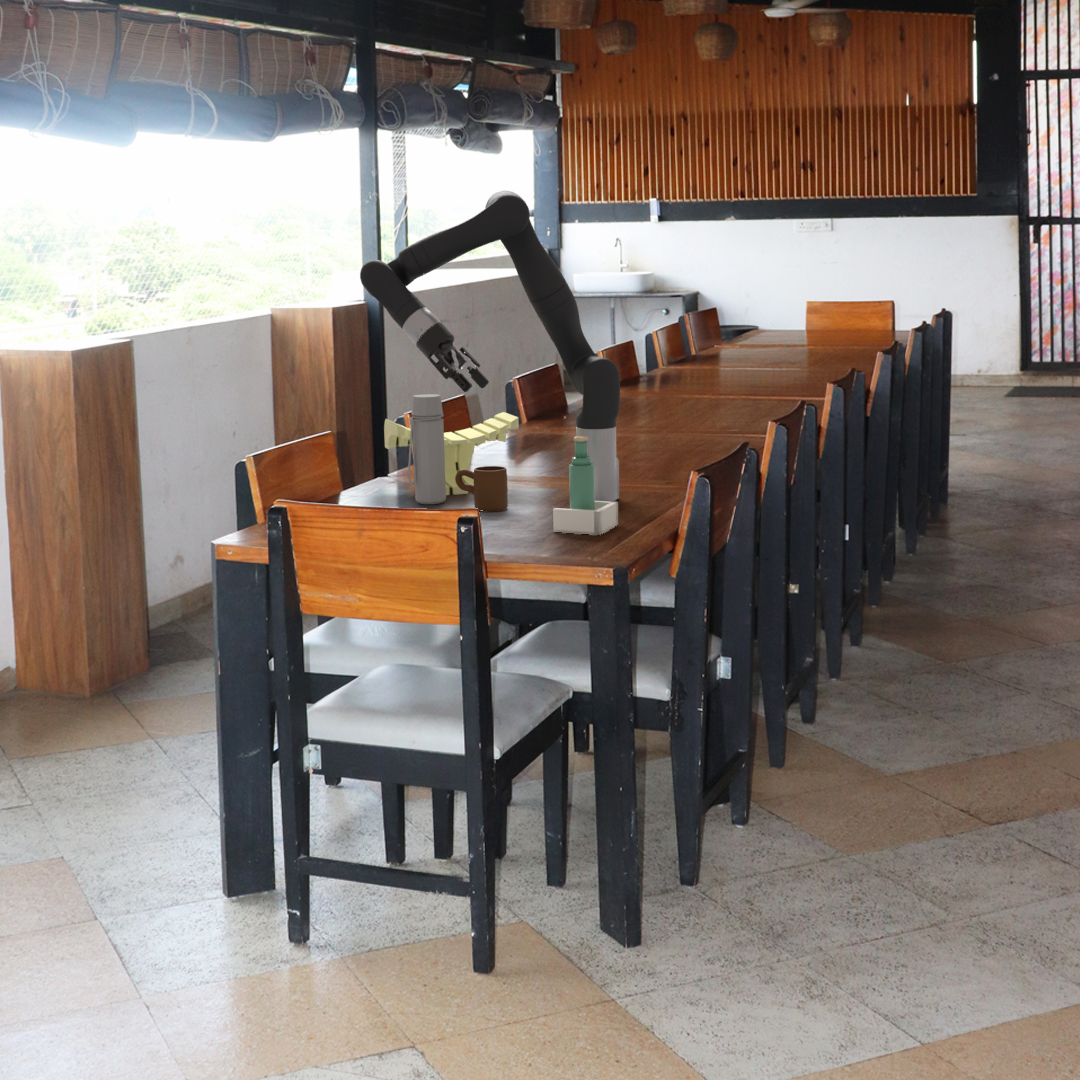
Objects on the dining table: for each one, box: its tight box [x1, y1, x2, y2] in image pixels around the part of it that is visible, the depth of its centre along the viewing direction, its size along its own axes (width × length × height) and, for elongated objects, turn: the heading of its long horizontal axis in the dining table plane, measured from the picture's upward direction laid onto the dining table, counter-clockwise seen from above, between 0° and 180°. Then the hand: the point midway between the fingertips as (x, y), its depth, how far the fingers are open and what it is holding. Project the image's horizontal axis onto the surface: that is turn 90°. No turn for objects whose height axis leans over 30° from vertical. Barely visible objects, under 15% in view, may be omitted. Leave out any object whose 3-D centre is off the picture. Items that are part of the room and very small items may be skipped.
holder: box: [552, 501, 619, 536], centre depth 284 cm, size 10×11×5 cm
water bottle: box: [407, 393, 447, 505], centre depth 316 cm, size 9×8×25 cm
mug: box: [455, 465, 509, 512], centre depth 308 cm, size 12×8×9 cm, turn 79°
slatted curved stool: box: [383, 411, 520, 496], centre depth 334 cm, size 30×16×18 cm, turn 108°
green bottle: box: [568, 436, 595, 510], centre depth 283 cm, size 5×5×19 cm
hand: (477, 387), depth 293 cm, fingers open, 8 cm apart
